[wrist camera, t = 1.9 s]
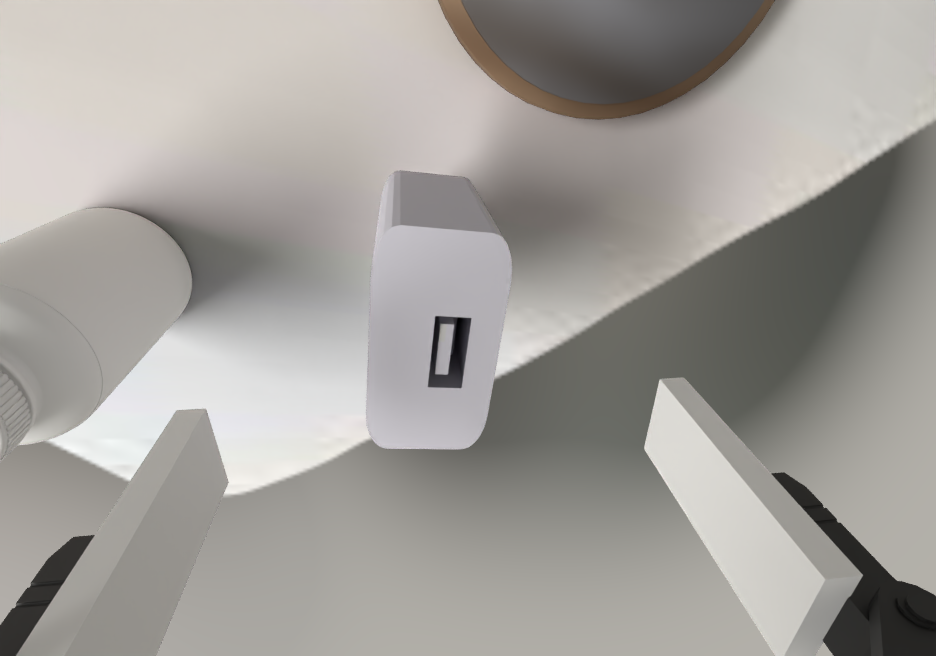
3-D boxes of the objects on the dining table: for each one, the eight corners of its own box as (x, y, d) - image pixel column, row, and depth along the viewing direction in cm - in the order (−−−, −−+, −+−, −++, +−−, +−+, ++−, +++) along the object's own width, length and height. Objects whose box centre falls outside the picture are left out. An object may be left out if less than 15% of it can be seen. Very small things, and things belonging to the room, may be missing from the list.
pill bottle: (188, 211, 29) (12, 338, 16) (202, 330, 32) (68, 514, 19) (34, 193, 27) (-302, 318, 14) (66, 321, 31) (-177, 512, 18)
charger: (466, 156, 29) (519, 235, 16) (449, 297, 33) (481, 450, 20) (385, 147, 28) (372, 223, 15) (378, 292, 33) (364, 449, 20)
